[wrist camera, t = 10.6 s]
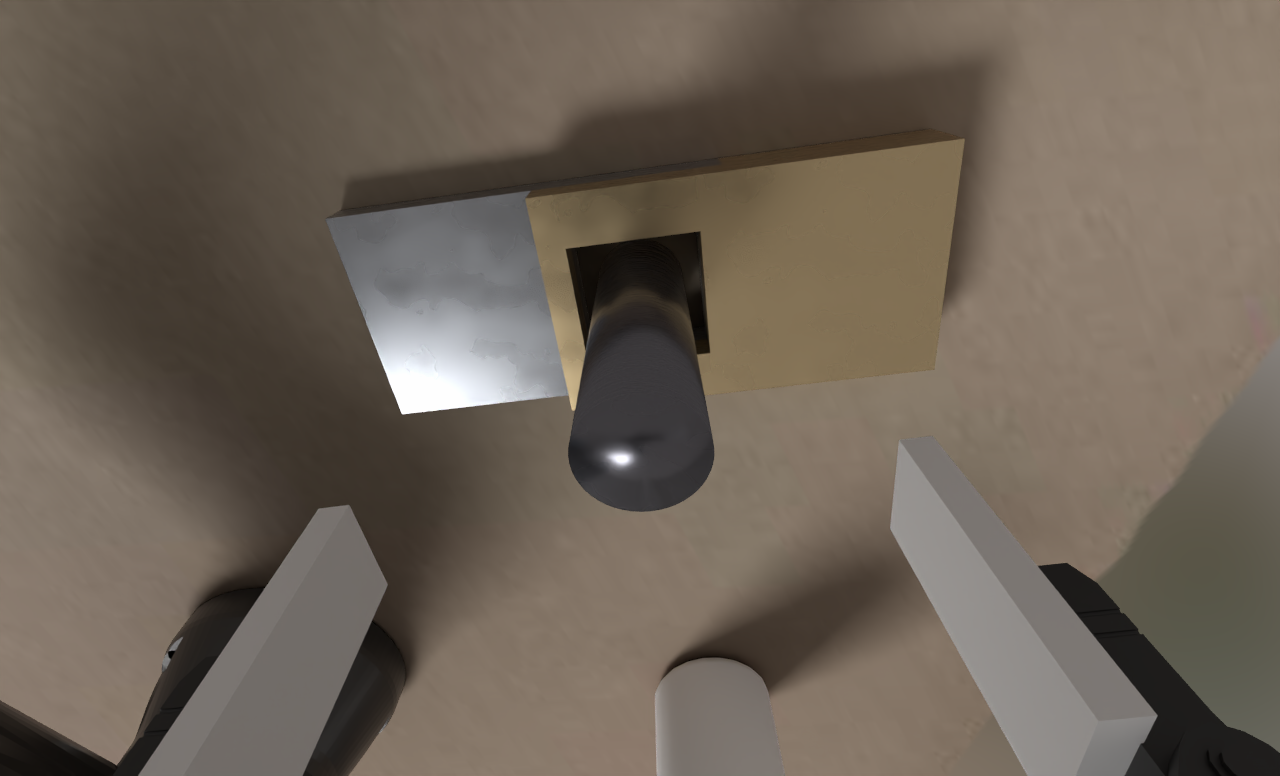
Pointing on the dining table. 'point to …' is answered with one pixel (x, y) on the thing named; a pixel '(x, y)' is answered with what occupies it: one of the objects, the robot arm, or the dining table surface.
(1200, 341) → the dining table surface
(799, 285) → the tan holed block
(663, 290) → the pin
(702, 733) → the potion bottle
